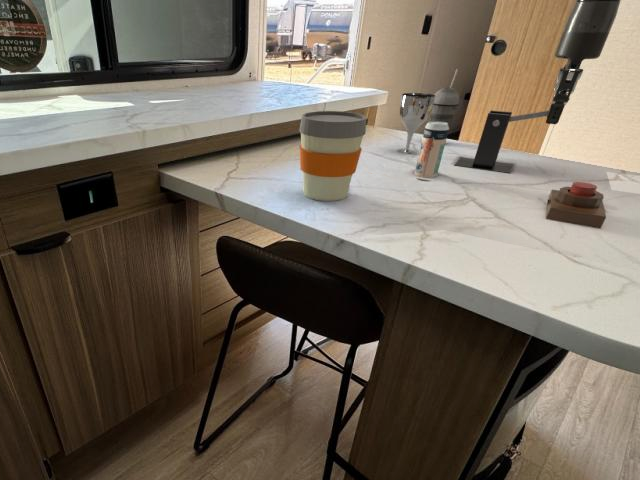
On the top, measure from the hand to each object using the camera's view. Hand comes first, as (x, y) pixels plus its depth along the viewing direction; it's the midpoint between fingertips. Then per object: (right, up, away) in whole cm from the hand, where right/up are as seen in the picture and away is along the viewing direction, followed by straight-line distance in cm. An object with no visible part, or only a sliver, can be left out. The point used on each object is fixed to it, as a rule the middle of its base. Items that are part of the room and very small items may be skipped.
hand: (551, 120), depth 90 cm
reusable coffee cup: (-50, -17, -4) cm, 53 cm away
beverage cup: (-12, +5, +30) cm, 33 cm away
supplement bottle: (-26, -12, +5) cm, 29 cm away
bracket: (-8, -7, +11) cm, 16 cm away
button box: (-6, -23, -13) cm, 27 cm away
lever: (-4, +1, +3) cm, 5 cm away
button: (-6, -20, -15) cm, 26 cm away
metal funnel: (-23, -1, +22) cm, 32 cm away
